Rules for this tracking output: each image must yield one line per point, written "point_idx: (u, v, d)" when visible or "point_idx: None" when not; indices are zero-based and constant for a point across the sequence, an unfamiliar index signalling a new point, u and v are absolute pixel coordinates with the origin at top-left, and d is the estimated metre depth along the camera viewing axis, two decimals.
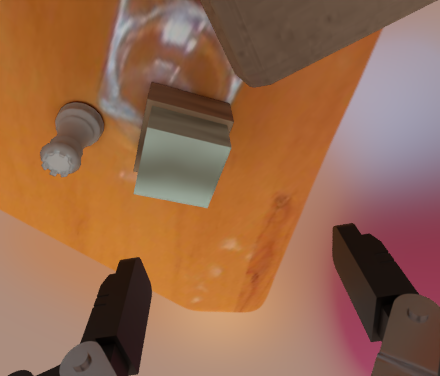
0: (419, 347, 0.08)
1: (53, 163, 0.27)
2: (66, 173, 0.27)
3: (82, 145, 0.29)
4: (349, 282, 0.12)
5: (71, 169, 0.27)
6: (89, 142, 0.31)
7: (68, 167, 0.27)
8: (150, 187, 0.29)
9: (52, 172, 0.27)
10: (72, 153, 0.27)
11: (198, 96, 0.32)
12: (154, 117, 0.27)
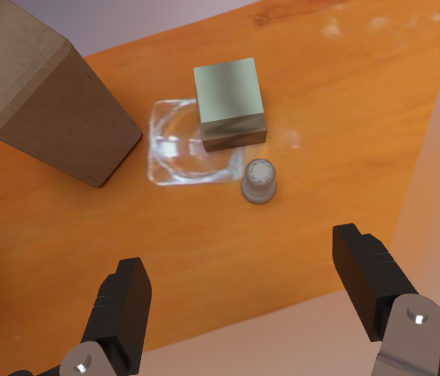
0: (418, 346, 0.08)
1: (262, 174, 0.34)
2: (267, 163, 0.34)
3: None
4: (349, 282, 0.12)
5: (260, 160, 0.34)
6: None
7: (262, 163, 0.34)
8: (251, 102, 0.36)
9: (269, 172, 0.34)
10: (249, 164, 0.35)
11: None
12: None
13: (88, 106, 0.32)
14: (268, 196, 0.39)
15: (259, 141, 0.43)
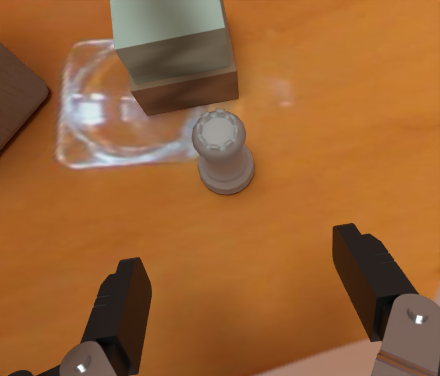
0: (418, 346, 0.08)
1: (220, 136, 0.18)
2: (229, 116, 0.18)
3: None
4: (349, 282, 0.12)
5: (217, 110, 0.18)
6: None
7: (221, 118, 0.19)
8: (203, 12, 0.20)
9: (234, 132, 0.18)
10: (199, 121, 0.19)
11: None
12: None
13: None
14: (241, 181, 0.24)
15: (229, 97, 0.27)
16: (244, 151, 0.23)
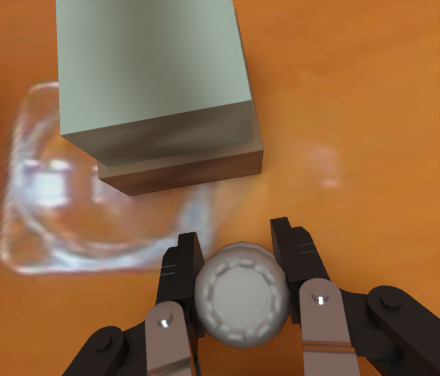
0: (330, 324, 0.09)
1: (247, 308, 0.10)
2: (263, 271, 0.10)
3: None
4: None
5: (240, 260, 0.10)
6: None
7: (247, 270, 0.10)
8: (214, 71, 0.12)
9: (272, 307, 0.10)
10: (207, 270, 0.11)
11: None
12: None
13: None
14: None
15: (248, 173, 0.18)
16: None
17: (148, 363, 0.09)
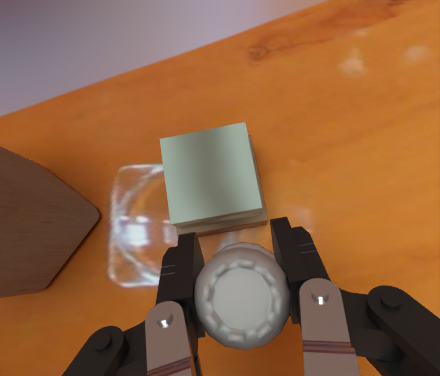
0: (329, 324, 0.09)
1: (247, 309, 0.10)
2: (264, 272, 0.10)
3: None
4: None
5: (241, 261, 0.10)
6: None
7: (247, 271, 0.10)
8: (244, 192, 0.24)
9: (273, 308, 0.10)
10: (207, 271, 0.11)
11: None
12: None
13: None
14: None
15: (258, 225, 0.31)
16: None
17: (148, 363, 0.09)
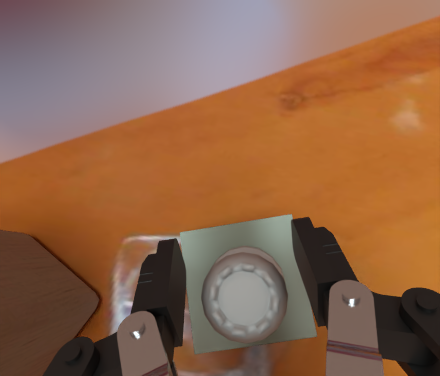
0: (358, 328, 0.09)
1: (248, 308, 0.11)
2: (263, 275, 0.11)
3: None
4: (303, 272, 0.12)
5: (243, 265, 0.11)
6: None
7: (249, 274, 0.12)
8: (292, 314, 0.18)
9: (271, 306, 0.11)
10: (213, 273, 0.12)
11: None
12: None
13: None
14: None
15: None
16: None
17: (124, 375, 0.09)
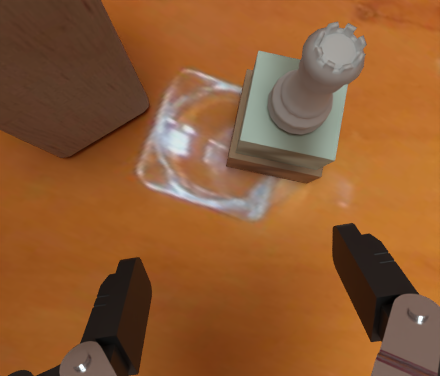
0: (418, 346, 0.08)
1: (339, 56, 0.16)
2: (358, 39, 0.16)
3: None
4: (349, 282, 0.12)
5: (348, 26, 0.16)
6: None
7: (346, 37, 0.16)
8: (323, 139, 0.23)
9: (357, 57, 0.15)
10: (320, 31, 0.16)
11: None
12: (238, 141, 0.25)
13: (73, 54, 0.18)
14: (312, 124, 0.21)
15: (300, 181, 0.30)
16: (331, 93, 0.21)
17: None
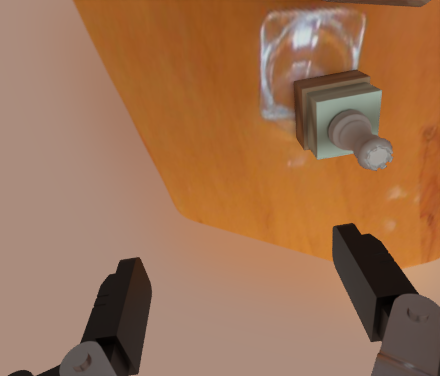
0: (418, 346, 0.08)
1: (374, 158, 0.30)
2: None
3: None
4: (349, 282, 0.12)
5: (391, 158, 0.30)
6: None
7: (385, 158, 0.30)
8: (328, 149, 0.38)
9: (374, 167, 0.30)
10: (387, 144, 0.29)
11: (331, 75, 0.41)
12: (314, 96, 0.36)
13: None
14: (336, 144, 0.35)
15: (297, 134, 0.45)
16: None
17: None
